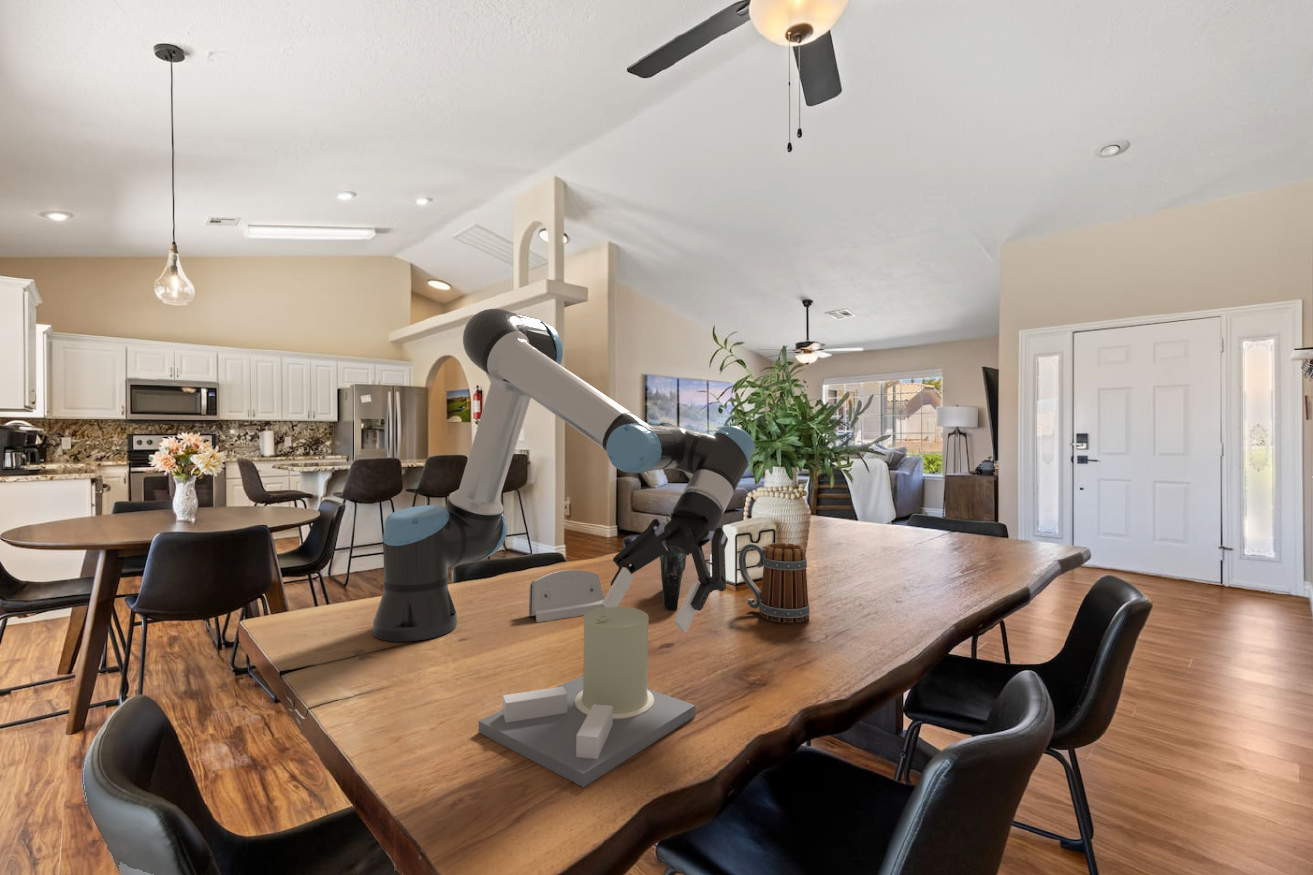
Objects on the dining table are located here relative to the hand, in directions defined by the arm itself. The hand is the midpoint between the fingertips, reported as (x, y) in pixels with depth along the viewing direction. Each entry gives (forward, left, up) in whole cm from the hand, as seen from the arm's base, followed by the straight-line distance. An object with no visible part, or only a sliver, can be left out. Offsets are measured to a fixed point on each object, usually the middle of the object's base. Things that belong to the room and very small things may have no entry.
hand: (642, 617), depth 87 cm
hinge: (-40, +23, -12) cm, 47 cm away
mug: (-5, +50, -12) cm, 52 cm away
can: (-1, -5, -10) cm, 12 cm away
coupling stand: (-1, -10, -12) cm, 16 cm away
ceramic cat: (-29, +46, -12) cm, 55 cm away
